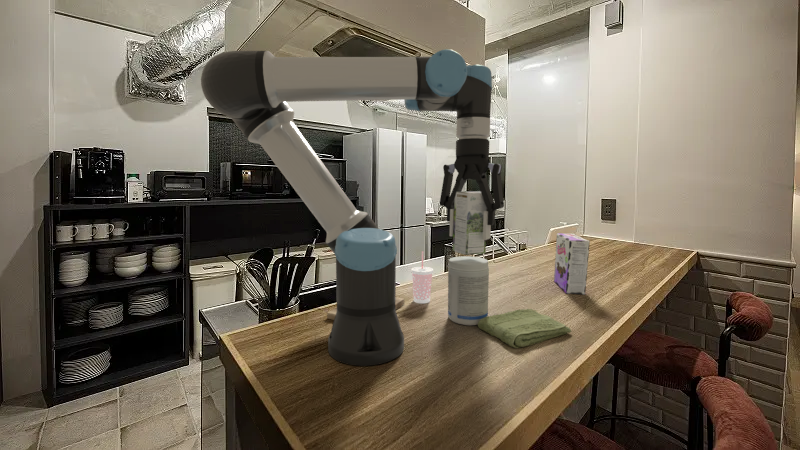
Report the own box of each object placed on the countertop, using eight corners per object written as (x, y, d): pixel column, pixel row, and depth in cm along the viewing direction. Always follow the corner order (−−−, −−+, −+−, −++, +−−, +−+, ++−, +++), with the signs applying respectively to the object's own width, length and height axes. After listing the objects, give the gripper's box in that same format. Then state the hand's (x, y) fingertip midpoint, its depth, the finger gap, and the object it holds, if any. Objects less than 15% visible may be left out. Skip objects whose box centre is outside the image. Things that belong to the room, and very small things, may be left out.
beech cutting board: (369, 327, 84) (369, 321, 83) (327, 318, 89) (327, 312, 89) (404, 304, 100) (404, 298, 99) (366, 297, 105) (366, 292, 105)
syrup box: (471, 249, 91) (473, 190, 89) (486, 254, 86) (488, 191, 84) (452, 251, 89) (453, 191, 87) (465, 255, 83) (467, 191, 82)
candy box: (553, 281, 123) (556, 232, 121) (571, 282, 122) (574, 233, 120) (565, 293, 109) (569, 239, 107) (586, 294, 109) (590, 240, 107)
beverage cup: (413, 296, 106) (414, 248, 104) (434, 298, 105) (435, 249, 103) (408, 303, 100) (409, 252, 99) (430, 305, 99) (431, 254, 97)
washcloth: (574, 335, 81) (575, 322, 81) (515, 353, 73) (516, 337, 73) (528, 316, 93) (529, 303, 92) (473, 329, 84) (473, 315, 84)
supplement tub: (495, 319, 89) (497, 260, 87) (472, 330, 83) (474, 266, 81) (462, 309, 96) (464, 254, 94) (439, 318, 90) (440, 259, 88)
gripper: (425, 139, 87) (423, 235, 90) (512, 134, 75) (507, 244, 78) (440, 142, 93) (438, 231, 96) (523, 137, 81) (518, 239, 84)
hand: (469, 237), depth 87 cm, fingers closed on syrup box, 8 cm apart
